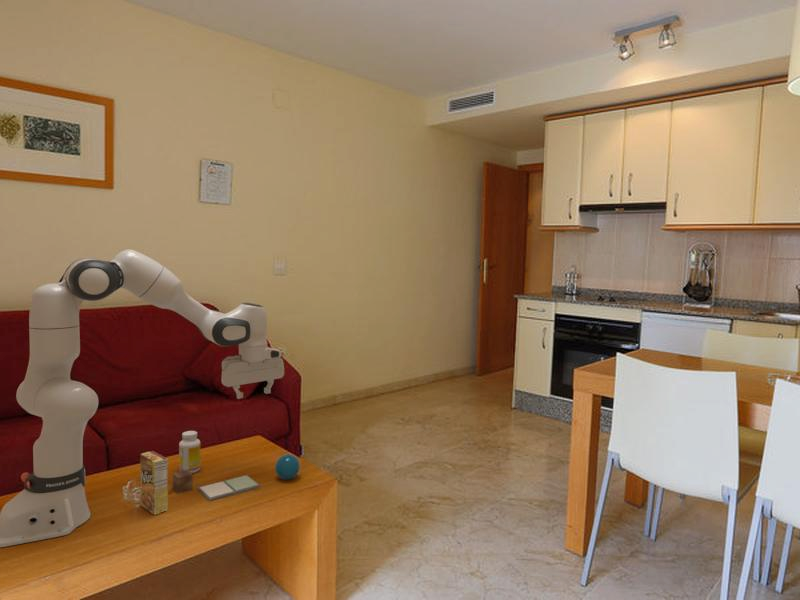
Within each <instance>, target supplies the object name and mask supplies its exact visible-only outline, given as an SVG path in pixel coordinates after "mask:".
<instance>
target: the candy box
mask: <svg viewBox="0 0 800 600" xmlns="http://www.w3.org/2000/svg"><path fill="white" fill-rule="evenodd" d="M139 479H140V506H141V507H142V508H144V509H145V510H147V511H148V512H150V513H151V514H152V515H153V514H154V515H153V516H156V514H157V515H158V514H162V513H165V512H168V509H169V508H168V506H169V505H168V502H169V501H168V500H169V497H168V496H169V491H168V489H169V488H168V487H169V486H168V485H169V482H168V481H169V458H168V457H166V456H163V455H162V454H159V453H158V452H156V451H154V450H151V451H146V452H143V453H140V478H139ZM164 511H165V512H164ZM161 512H162V513H161Z"/></svg>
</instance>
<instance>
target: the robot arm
mask: <svg viewBox="0 0 800 600" xmlns="http://www.w3.org/2000/svg"><path fill="white" fill-rule="evenodd" d="M119 289H124V290H126V291H128V292H130V293H131V294H133V295H134V296H135V297H137V298H139V299H141V300H143V301H144V302H146V303H147V304H149V305H152V306H154V307H157V308H160V309H163V310H164V309H166V310H171V311H173V312H175V313H177V314H178V315H180V316H181V317H183V318H184V319H186V320H188V321H189V322H191V323H192V324H194V326H196V328H197V329H198V331H199V332H200V334H201V335H202V337H204V339H205V340H207V341H209V342H212V343H214V344H215V345H218V346H219V347H226V348H228V347H233V346H237V345H238V355H233V356H226V357H225V358H224V359H222V361H221V378H220V379H221V380H220V381H221V384H222V385H223V386H225V387H226V388H230V387H232V389H233V390H234V392H235V393H236V399H238V400H239V399H243V398H244V392H242V391H240V390H239V389H240V388H241V385H242V386H243V385H247V384H248V385H249V384H253V383H254V384H255V383H259V382H260V383H261V382H265V381H266V382H267V385H266V387H264V388H263V393H264V394H266V395H268V394H271V393H272V392H271V388H272V386H273V385H274V381H275V380H277V379H282V378H283V377H284V375H285V363H284V359H283V358H281V357H282V355H283V352H282V350H279V349H277V348H275V347H274V348H273V347H271V346H268V340H267V333H268V317H267V312H266V309H265V307H264V306H262V305H260V304H256V303H251V302H242V303H241V304H240V305H238V306H237V307H235V308H234V309H232V310H230V311H228V312H226V313H225V312H224V311H223V312H222V311H221V310H220V311H219V310H215V309H210V308H208V307H207V306H204V305H203V304H202V303H200V302H199V301H198V300H196V299H194V298H193V297H192V296H190V295H189V294H188V293H187V292H186V290H185V289H184V286H183V282H182V280H180V278H179V277H177V275H175V274H174V272H172V271H170V270H169V269H168V268H167V267H165V266H164V265H163V264H161V263H160V262H158V261H157V260H155V259H153V258H151V257H149V256H148V255H146V254H143V253H141V252H139V251H137V250H134V249H125V250H122V251H120V252H118V253H117V254H116V255H115V256H114V257H113V259H111V260H109V261H107V260H101V259H97V258H94V257H84V258H83V257H82V258H79V259H76V260H75V261H73V262H72V263H71V264H70V265H69V266H68V267H67V268H66V270H65V272H64V273H63V275H62V276H61V278H60V279H59V281H58V282H56V283H54V282H53V283H45V284H43V285H39V287H37V288H35V290H34V291H33V292H32V296H31V300H30V306H29V307H30V308H29V317H28V322H29V323H28V324H29V325H28V326H29V327H28V328H29V329H28V331H29V332H28V333H29V359H28V365H27V369H26V373H25V377H24V380H23V381H22V382H21V383H20V384H19V386H18V388H17V390H16V395H15V396H16V397H15V399H16V401H17V403H18V405H19V406H20V407H21V408H22V409H23V410H24V411H25V412H26V413H28V414H30V415H33V416H37V417H39V418H41V419H42V428H41V432H40V434H39V437H38V438H37V439H35V441H34V443H33V446H32V454H33V455H32V457H33V458H32V459H33V463H32V464H33V472H32V473H29V472H23V473H22V474H21V475H20V478H21V481H22V482H23V483H24V485H23V486H24V489H22V490H21V491H20V492H19V493H18V494H16V495H15V496H14V497H12V498H11V499H10V500H9V501H8V502H6V503H5V504H4V506H3V507H2V509H1V510H0V548H5V547H10V546H15V545H20V544H21V545H22V544H26V543H30V542H31V543H32V542H36V541H42V540H48V539H52V538H56V537H58V538H59V537H62V536H67V535H69V534H71V533H72V532H73V531H74V530H75V529H76V528H77V527H80V526H82V524H85V523H86V522H88V521H89V519H90V518H91V515H92V514H91V511H90V509H89V505H88V502H87V497H86V492H85V486H86V469H85V468H86V467H85V466H84V464H83V463H84V462H83V460H84V459H83V454H84V453H83V451H84V449H83V448H84V447H83V440H84V434H85V431H86V427H87V424H88V422H89V420H90V419H92V417H93V416H94V415H95V414H96V412H97V410H98V408H99V395H98V394H97V393H96V392H95V390H93V388H91V387H89V386H88V385H86V384H85V383H83V382H80V381H78V380H77V381H76V380H72V379H71V372H72V368H73V365H74V362H75V360H76V359H77V358H78V357H79V356H80V354H81V339H80V338H81V337H80V335H81V334H80V310H81V307H82V304H83V303H84V302H86V301H89V302H97V301H101V300H103V299H105V298H108V297H109V296H111V295H112V294H113V293H114V292H116V291H117V290H119Z"/></svg>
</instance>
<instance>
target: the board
mask: <svg viewBox="0 0 800 600" xmlns="http://www.w3.org/2000/svg"><path fill="white" fill-rule="evenodd" d="M256 489H261V484H259V483H258V482H257V481H255V480H254V479H253V478H252V477H250V476H249V475H248V474H246V475H242V476H238V477H233V478H229V479H226V480H221V481H218V482H213V483H209V484H205V485H203V486H202V485H201V486H198V487H197V490H198V492H200V493H201V494H202V496H204V497H205V498H206V499H207V500H208V502H212V501H215V499H216V500H218V499H222V498H225V497H230V496H234V495H237V494H241V493H245V492H249V491H252V490H256Z"/></svg>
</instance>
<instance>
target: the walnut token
mask: <svg viewBox="0 0 800 600" xmlns="http://www.w3.org/2000/svg"><path fill="white" fill-rule="evenodd" d="M193 478H194V473H191V472H190V471H189V470H188V469H187V470H183V471H180V470H179V471H175V472H172V488H174V489H173V490H174V491H175V492H176V493H177V494H181V492H182V493H184V492H188V491H192V489H193V488H194V481H193V480H194V479H193ZM193 490H194V489H193Z"/></svg>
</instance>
